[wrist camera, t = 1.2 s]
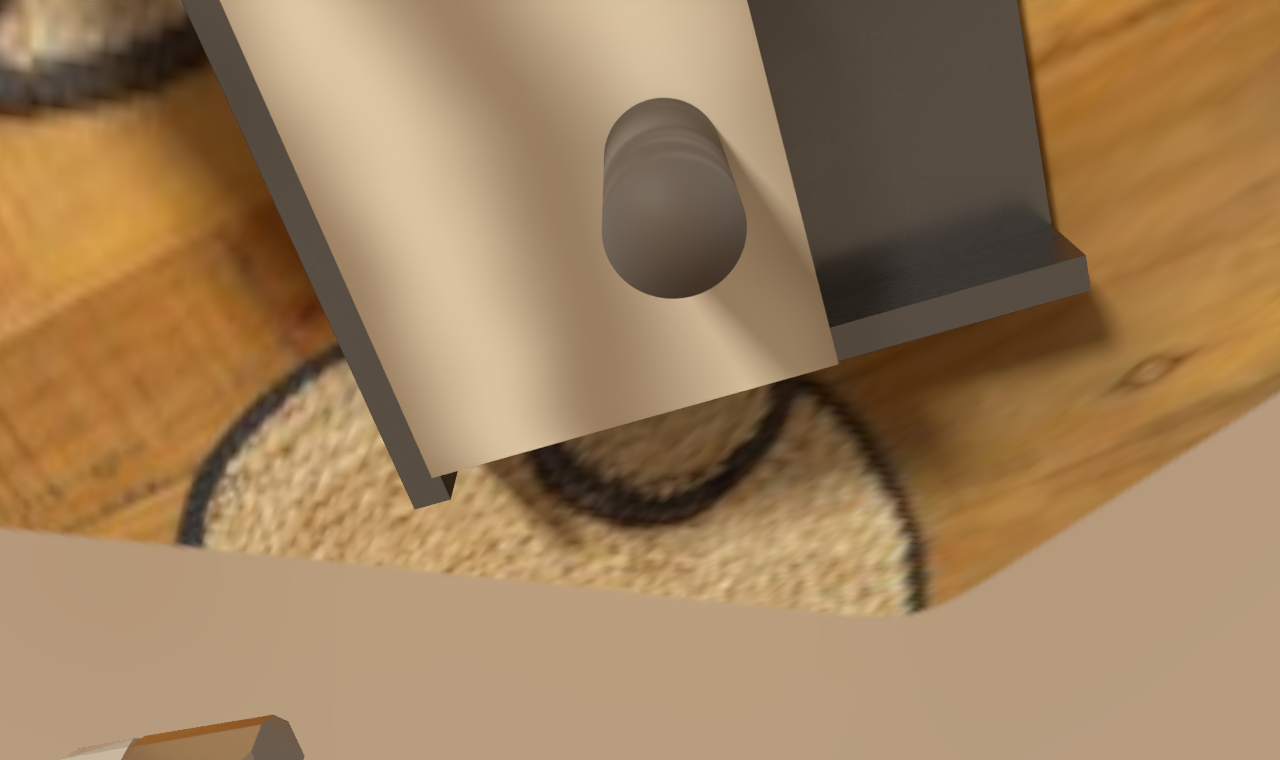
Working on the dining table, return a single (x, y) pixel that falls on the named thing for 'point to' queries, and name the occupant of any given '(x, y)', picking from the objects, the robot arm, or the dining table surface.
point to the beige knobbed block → (545, 206)
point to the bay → (809, 178)
